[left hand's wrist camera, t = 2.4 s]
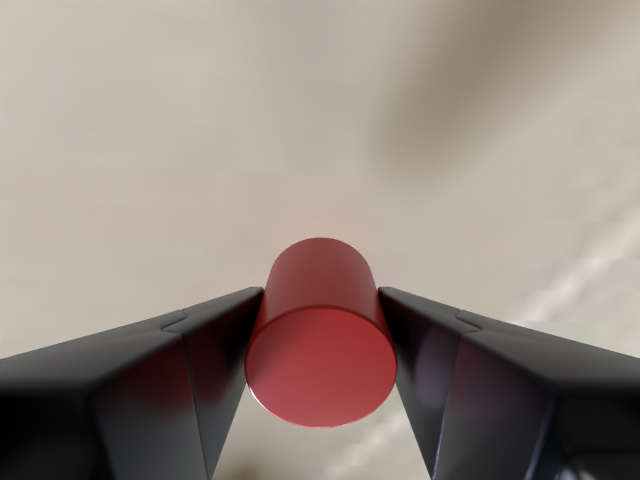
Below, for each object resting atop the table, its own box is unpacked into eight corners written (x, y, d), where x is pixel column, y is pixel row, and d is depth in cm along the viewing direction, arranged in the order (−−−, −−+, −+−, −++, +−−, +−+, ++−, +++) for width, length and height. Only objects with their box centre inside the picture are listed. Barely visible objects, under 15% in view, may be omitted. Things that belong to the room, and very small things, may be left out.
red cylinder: (304, 344, 13) (298, 448, 9) (247, 270, 12) (211, 351, 8) (390, 300, 12) (424, 392, 8) (338, 217, 11) (349, 277, 7)
